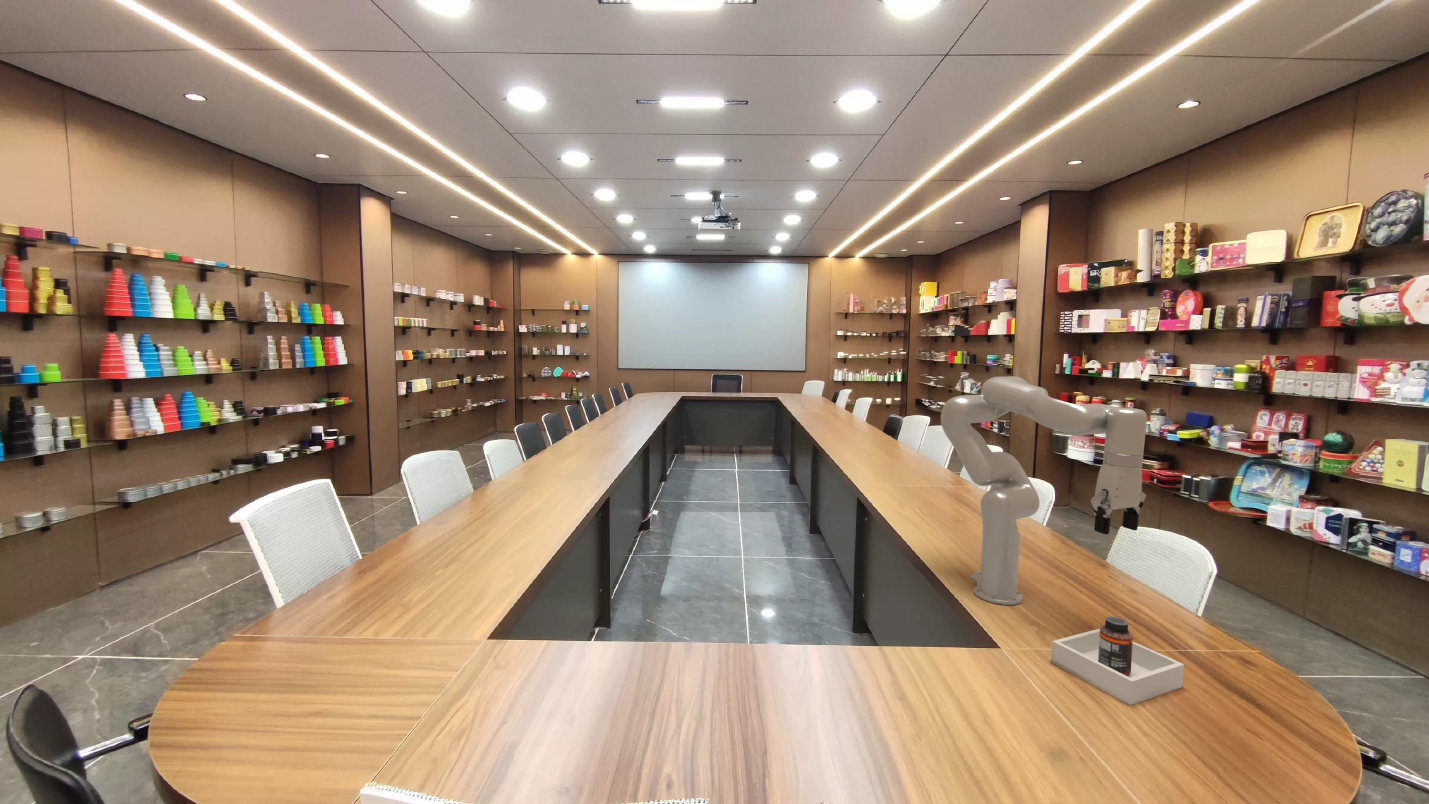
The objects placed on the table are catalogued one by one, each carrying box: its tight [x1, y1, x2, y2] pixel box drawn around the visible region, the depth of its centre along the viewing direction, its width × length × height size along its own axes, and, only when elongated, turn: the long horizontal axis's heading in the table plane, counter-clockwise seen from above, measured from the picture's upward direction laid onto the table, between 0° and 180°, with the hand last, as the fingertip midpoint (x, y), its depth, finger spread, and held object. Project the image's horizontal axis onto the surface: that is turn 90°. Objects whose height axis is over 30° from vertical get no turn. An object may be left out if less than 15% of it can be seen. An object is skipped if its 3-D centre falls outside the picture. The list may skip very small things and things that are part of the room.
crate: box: [1050, 628, 1185, 706], centre depth 124 cm, size 17×17×5 cm
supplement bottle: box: [1098, 616, 1134, 676], centre depth 124 cm, size 6×6×11 cm
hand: (1115, 530), depth 136 cm, fingers open, 9 cm apart
